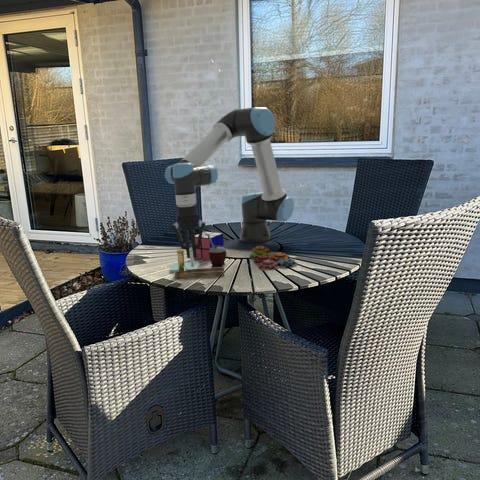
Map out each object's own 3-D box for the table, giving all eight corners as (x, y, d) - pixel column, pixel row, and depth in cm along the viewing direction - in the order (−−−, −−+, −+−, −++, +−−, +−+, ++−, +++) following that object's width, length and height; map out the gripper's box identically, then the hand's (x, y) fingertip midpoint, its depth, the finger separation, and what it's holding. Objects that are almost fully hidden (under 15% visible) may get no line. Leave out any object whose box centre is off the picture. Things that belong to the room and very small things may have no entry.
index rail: (224, 271, 177) (223, 266, 177) (224, 276, 173) (223, 270, 172) (176, 274, 177) (176, 269, 177) (174, 278, 172) (174, 273, 172)
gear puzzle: (243, 252, 206) (242, 243, 205) (277, 248, 209) (276, 240, 208) (261, 272, 176) (261, 262, 175) (300, 267, 180) (300, 257, 179)
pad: (199, 264, 189) (199, 261, 189) (197, 271, 180) (197, 268, 179) (173, 265, 189) (172, 263, 189) (170, 273, 180) (169, 270, 179)
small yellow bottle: (187, 272, 176) (185, 249, 174) (187, 274, 173) (185, 251, 171) (177, 272, 176) (175, 249, 174) (176, 275, 173) (174, 251, 171)
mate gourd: (230, 265, 185) (228, 230, 181) (213, 270, 180) (211, 233, 177) (220, 262, 191) (217, 227, 187) (204, 266, 186) (201, 230, 183)
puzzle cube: (211, 261, 193) (210, 238, 191) (193, 258, 199) (191, 236, 196) (224, 255, 202) (223, 233, 199) (206, 252, 207) (205, 231, 205)
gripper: (168, 208, 165) (175, 270, 170) (203, 205, 165) (209, 267, 170) (170, 204, 172) (177, 264, 177) (204, 202, 172) (209, 261, 178)
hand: (192, 265), depth 174 cm, fingers closed
